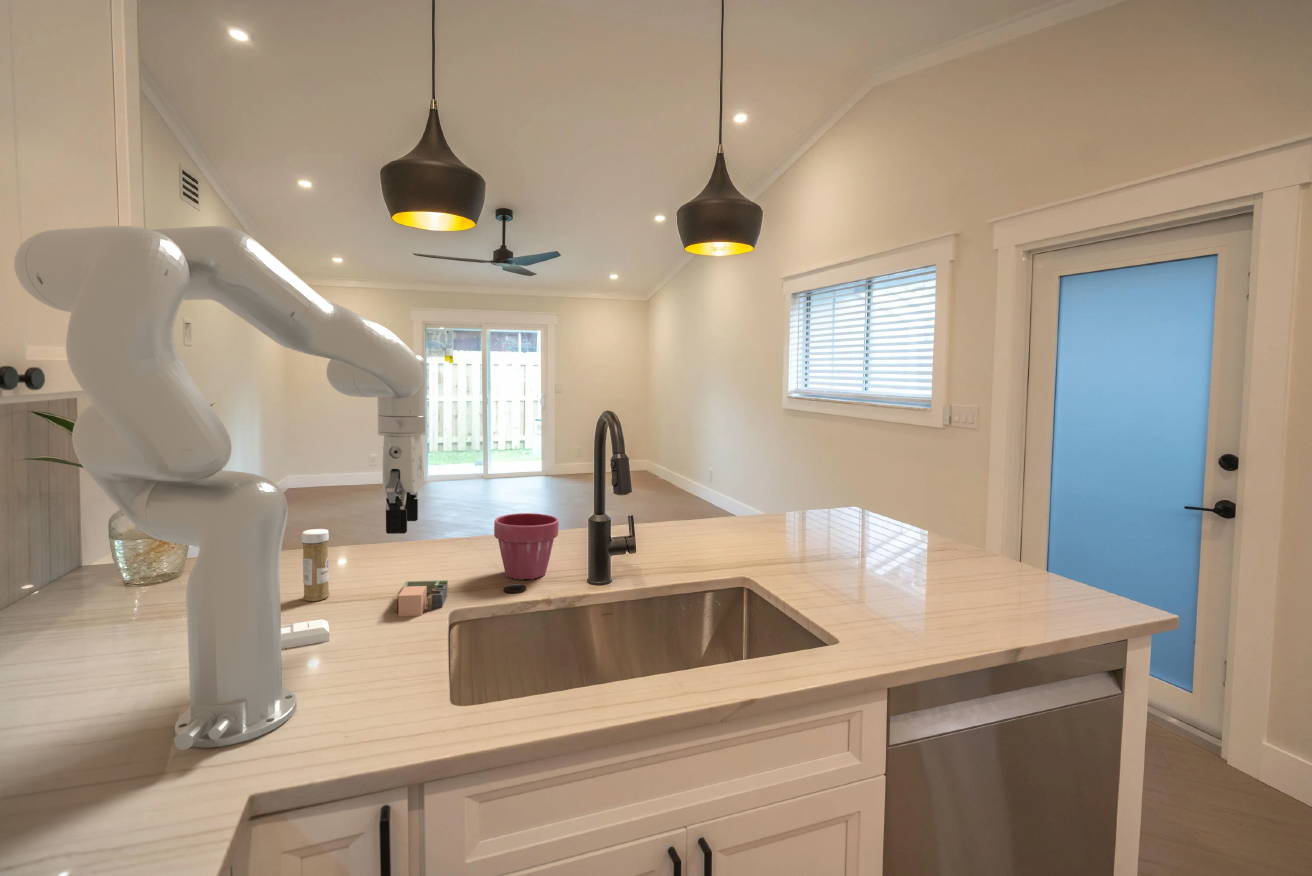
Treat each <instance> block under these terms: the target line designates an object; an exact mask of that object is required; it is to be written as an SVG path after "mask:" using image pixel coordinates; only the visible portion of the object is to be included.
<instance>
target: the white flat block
mask: <svg viewBox="0 0 1312 876" xmlns="http://www.w3.org/2000/svg"><path fill="white" fill-rule="evenodd" d="M325 642H330V627H329V621H327V620H324V619H316V620H314V619H313V620H308V621H302V622H296V623H295V622H294V623H289V624H283V625H281V650H283V649H289V648H294V647H300V646H301V647H302V646H307V645H314V644H318V643H325Z"/></svg>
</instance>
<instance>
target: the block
mask: <svg viewBox="0 0 1312 876" xmlns="http://www.w3.org/2000/svg"><path fill="white" fill-rule="evenodd" d="M427 595H428V593H427V586H409V587H404V588H403V590H402V591H401V593H400V594H399V596H398V599H399V610H398V617H414V616H415V617H416V616H419V615H420V616H423V613H424V612H425V610H426V607H427V604H428V596H427ZM423 611H424V612H423Z"/></svg>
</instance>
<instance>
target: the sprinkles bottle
mask: <svg viewBox="0 0 1312 876" xmlns="http://www.w3.org/2000/svg"><path fill="white" fill-rule="evenodd" d="M329 539H330V536H329V530H328V529H325V528H314V529H307V530H304V531H302V532H301V542H302V550H303V551H302V555H303V557H302V576H303V580H302V582H303V600H304V601H307V602H319V601H321V600H325V599H327V598H329V597H330V591H329V590H330V589H329V588H330V586H329V580H330V579H329V577H330V575H329V570H330V569H329V546H328V545H329V544H328V543H329Z"/></svg>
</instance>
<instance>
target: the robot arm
mask: <svg viewBox="0 0 1312 876" xmlns="http://www.w3.org/2000/svg"><path fill="white" fill-rule="evenodd" d="M13 263H14V264H13V267H14V272H15V276H16V278H17V279H18V282H19V283H20V285H21V286H22V287H23V288H24V290H25V291H26V292H27V293H28V294H30V296H31V297H33V298H34V299H35V300H37V301H38V302H41V303H42V304H44V305H46V306H49V307H50V308H52V309H56V310H58V311H62V312H68V313H70V316H69V321H68V325H67V326H68V327H67V332H66V340H65V351H66V359H67V362H68V365H69V368H70V370H71V373H72V375H73V376H74V379H75V380H76V382H77V384H78V385H79V386H80V388H81V389H82V390H83V392H84V394H85V395H86V396H87V398H88V399H89V400H90V402H91V404H89V405H88V406H87V407H86V408H85V409H84V410H82V412H81V413H80V414H79V415H78V416H77V418H76V420H75V422H74V424H73V428H72V435H71V437H72V447H73V450H74V453H75V456H76V458H77V459H78V461H79V463H80V465H81V466H82V468H83V469H84V470H85V471H86V473H87V474H88V475H89V476H90V477H91V479H92V480H93V481H94V482H95V484H97V486H98V487H100V489H101V490H102V491H103V492H104V493H105V495H106V496H107V497H108V498H109V499H110V500H111V501H112V502H113V504H115V505H116V506H117V508H118V509H119V510H120V511H121V512H122V513H123V514H124V515H125V516H126V518H127V519H128V521H130V522H131V523H132V524H133V525H134V526H136V528H138V529H139V530H140V531H141V532H142V533H144V534H145V535H147V536H148V537H151V538H153V539H155V540H158V541H162V542H166V543H170V544H171V543H172V544H179V545H184V546H185V545H186V546H191V547H192V546H193V547H197V548H198V549H199V550H198V554H197V558H196V560H195V562H194V564H193V566H192V569H191V570H190V573H189V575H188V578H187V583H186V590H185V591H186V593H185V598H186V599H185V600H186V604H185V605H186V606H185V607H186V622H187V625H186V626H187V644H188V645H187V647H188V648H187V649H188V651H187V652H188V675H189V676H188V677H189V679H188V680H189V703H190V705H189V706H190V708H189V709H187V710H186V711H185V712H184V713H182V715H180V717H179V718H178V719H177V721H176V722H175V725H174V737H175V738H174V743H173V744H174V746H175V747H176V748H177V749H179V750H188V749H190V748H191V747H192V748H199V749H200V748H209V749H210V748H216V747H217V748H219V747H226V746H232V745H235V744H239V743H243V742H244V743H245V742H247V741H250V740H253V739H256V738H258V737H261V736H263V735H265V734H267V733H269V732H271V731H273V730H275V729H277V728H278V727H280V726H281V725H283V724H285V722H287V721H288V720H289V719H290V718H291V717H292V716H293V714H294V713H295V711H296V709H297V697H296V694H295V693H294V692H293V691H292V690H289V689H288V688H285V687H283V671H282V670H283V666H282V665H283V664H282V649H281V624H282V623H281V621H282V615H281V614H282V612H281V611H282V610H281V608H282V607H281V582H280V581H281V575H280V574H281V556H282V555H281V553H282V545H283V540H284V535H285V531H286V526H287V522H288V514H289V510H288V509H289V507H288V505H289V504H288V502H287V498H286V495H285V494H284V492H283V490H282V489H281V488H280V487H279V486H278V485H277V484H276V483H275V482H274V481H272V480H270V479H268V478H266V477H264V476H261V475H259V474H255V473H251V472H245V471H235V470H233V471H232V470H223V469H224V468H225V467H226V466H227V464H228V463H229V460H230V459H231V455H232V449H233V448H232V441H231V438H230V435H229V433H228V430H227V428H226V427H225V425H224V423H223V422H222V420H221V418H220V417H219V415H217V413H216V412H215V410H214V408H213V407H212V406H211V404H210V403H209V401H208V400H207V398H206V396H205V395H204V394H203V392H202V391H201V390H200V388H199V386H198V384H196V382H195V380H194V379H193V378H192V376H191V375H190V373H189V371H188V370H187V369H186V367H185V365H184V363H183V361H182V360H181V358H180V355H179V353H178V352H177V351H178V350H177V349H176V345H175V336H174V331H175V324H176V320H177V316H178V312H179V310H180V307H181V305H182V304H183V302H184V301H187V300H188V301H189V300H190V301H203V300H206V301H207V300H209V301H214V302H216V303H219V304H221V305H222V306H223V307H225V308H226V309H228V310H229V311H230V312H231V313H234V314H235V315H236V316H238V317H239V318H241V319H243V320H244V321H245V322H247V323H248V324H250V325H251V326H253V327H254V328H256V330H258V331H259V332H260V333H262V334H263V335H265V336H266V337H268V338H270V339H271V340H272V341H273V342H275V343H276V344H278V345H280V346H282V347H283V348H287V349H290V350H293V351H296V352H299V353H303V354H305V355H310V356H315V357H320V358H324V359H330V360H329V361H328V363H327V366H326V377H327V380H328V382H329V384H330V386H331V387H332V388H334V389H335V390H336V391H337V392H339V393H341V394H343V395H345V396H348V397H356V398H358V397H359V398H377V435H378V436H380V437H381V436H383V443H382V444H383V446H382V488H383V489H382V491H383V493H384V494H386V499H385V501H386V503H385V533H386V534H389V535H390V534H391V535H394V534H397V535H398V534H401V535H403V534H406V533H407V532H408V522H416V521H418V520H419V509H418V508H419V498H418V491H420V489H422V487H424V484H425V477H424V476H425V473H424V451H423V441H422V436H426V433H427V432H426V427H427V425H426V418H427V417H426V415H427V414H426V412H427V411H426V408H427V407H426V400H427V399H426V393H427V391H426V361H425V359H424V357H422V355H419V354H415V353H414V352H413V350H412V349H411V348H410V347H409V346H408V345H407V344H406V343H404V342H403V340H401V339H400V338H399V337H398V336H397V335H396V334H394V333H393V332H392V331H391V330H389V329H387V328H386V327H384V326H383V325H381V324H379V323H377V322H375V321H374V320H372V319H369V318H367V317H365V316H363V315H361V314H358V313H356V312H354V311H352V310H350V309H348V308H346V307H344V306H343V305H339V304H338V303H335V302H333V301H330V300H328V299H326V298H325V297H323V296H321V295H320V294H319V293H318V292H317V291H315V290H314V289H313V288H312V287H310V286H309V284H307V283H306V282H305V281H304V280H303V279H302V278H301V277H299V276H298V275H296V273H294V271H292V270H291V269H290V268H289V267H287V266H286V265H285V263H283V262H281V261H280V260H279V259H278V258H277V257H276V256H274V255H273V254H272V253H271V252H270V251H269V250H267V249H266V248H265V247H264V246H263V245H262V244H260V243H259V242H258V241H257V240H255V238H253V236H251V235H249V234H247V233H245V232H243V230H240V229H236V228H234V227H230V226H225V225H224V226H223V225H208V226H207V225H205V226H187V227H186V226H185V227H171V228H169V227H167V228H166V227H165V228H155V229H154V228H153V229H151V228H145V227H140V226H131V225H130V226H129V225H110V226H108V225H106V226H105V225H104V226H94V227H93V226H92V227H79V228H74V227H73V228H59V229H49V230H44V231H41V232H38V233H36V234H35V233H34V235H32V236H30V237H28V238H26V240H24V241H23V242H22V243H21V244H20V246H19V248H18V249H16V253H15V256H14V262H13Z"/></svg>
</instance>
